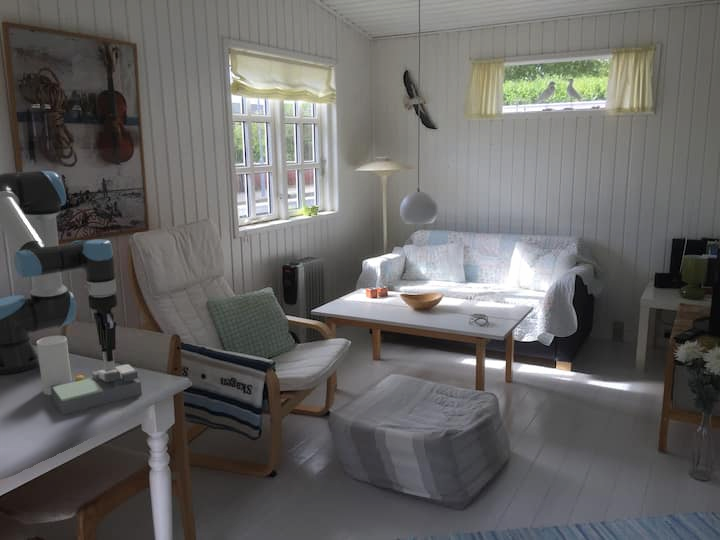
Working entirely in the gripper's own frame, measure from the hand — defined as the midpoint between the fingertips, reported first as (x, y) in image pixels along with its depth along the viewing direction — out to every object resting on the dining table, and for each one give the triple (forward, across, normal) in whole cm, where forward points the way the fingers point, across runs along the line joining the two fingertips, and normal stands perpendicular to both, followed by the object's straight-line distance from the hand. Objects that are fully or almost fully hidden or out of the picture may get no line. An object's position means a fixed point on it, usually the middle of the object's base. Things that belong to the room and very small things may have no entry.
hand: (109, 370), depth 187 cm
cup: (+9, -16, -12) cm, 21 cm away
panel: (+8, -3, -4) cm, 10 cm away
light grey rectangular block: (+2, -5, 0) cm, 5 cm away
